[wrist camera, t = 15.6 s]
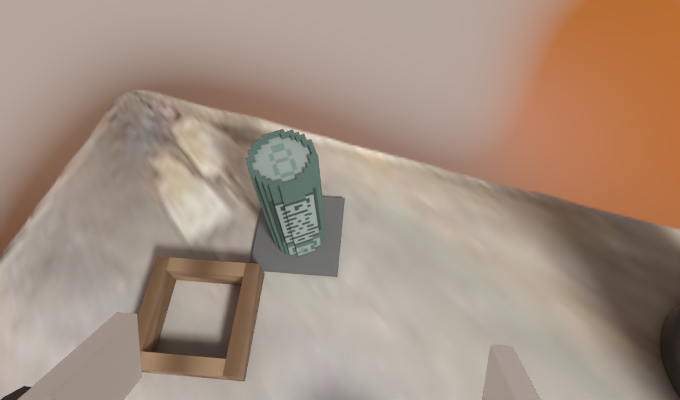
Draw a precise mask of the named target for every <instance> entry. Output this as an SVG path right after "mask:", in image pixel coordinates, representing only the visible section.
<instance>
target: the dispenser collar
mask: <svg viewBox="0 0 680 400" xmlns="http://www.w3.org/2000/svg"><path fill="white" fill-rule="evenodd" d="M263 279H264V272H263V270H262V268H261V266H260V264H254V263H240V262H227V261H213V260H200V259H186V258H173V257H159V256H157V258H156V261H155V264H154V267H153V270H152V273H151V277H150V280H149V283H148V286H147V289H146V292H145V295H144V298H143V301H142V305H141V308H140V311H139V314H138V317H137V320H138V332H139V345H140V357H141V369H142V372H149V373H160V374H171V375H182V376H192V377H203V378H214V379H225V380H236V381H245V377H246V372H247V366H248V361H249V355H250V350H251V344H252V339H253V333H254V328H255V323H256V317H257V312H258V306H259V301H260V295H261V290H262V284H263ZM176 280H185V281H197V282H210V283H223V284H236V285H241V289H240V294H239V299H238V303H237V308H236V313H235V318H234V323H233V327H232V332H231V337H230V342H229V346H228V351H227V356H226V359H221V358H210V357H199V356H188V355H176V354H165V353H155V351H156V348H157V344H158V341H159V337H160V334H161V331H162V327H163V324H164V320H165V317H166V313H167V310H168V306H169V303H170V299H171V296H172V293H173V289H174V286H175V282H176Z"/></svg>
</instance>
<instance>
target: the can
mask: <svg viewBox="0 0 680 400" xmlns="http://www.w3.org/2000/svg"><path fill="white" fill-rule="evenodd" d="M262 138H263V139H259V140H256V141H254V142H255V145H251V147H252V149H250V150H248V153H249V156H250V157H249V158H245V159H246V163H247V166H248V169H249V172H250V176H251V179H252V181H253V184H254V187H255V190H256V192H257V195H258V198H259V201H260V203H261V206H262V209H263V211H264V214H265V217H266V220H267V222H268V225H269V228H270V231H271V233H272V236H273V239H274V242H275V244H276V247H280V248H281V251H282V252H286V255H287V254H290V256H294V255H297V254H298V257H301V256H304V255H307V254H310V253H313V252H315V248H318V247H321V244H320V243H322V242H323V239H324V238H325V232H326V224H325V215H324V206H323V197H322V188H321V179H320V170H319V161H318V155H317V153H316V150H315V148H314V145H313V143H312V140H311V139H310V140H306V138H305V135H304V134H302V135H300V134H299V132H296V133H294V131H293V130H290V131H287V132H284V130H283V129H281V130H278V131H274V132H271V133H268V134H264V135H262Z"/></svg>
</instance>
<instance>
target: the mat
mask: <svg viewBox="0 0 680 400" xmlns="http://www.w3.org/2000/svg"><path fill="white" fill-rule="evenodd" d="M323 206H324V215H325V224H326V232H325V238H324V239H323V242H322V243H320V244H321V247H318V248H315V252H313V253H310V254H307V255H304V256H301V257H298V254H297V255H294V256H290V254H287V255H286V252H282V251H281V248H280V247H276V244H275V242H274V239H273V236H272V233H271V231H270V228H269V225H268V222H267V220H266V217H265V214H264V211H263V209H262V208H261V213H260V218H259V223H258V228H257V232H256V237H255V242H254V247H253V252H252V257H251V262H250V263H254V264H260V266H261V268H262V270H263V271H267V272H280V273H294V274H307V275H320V276H334V277H337V275H338V264H339V253H340V243H341V232H342V221H343V211H344V198H337V197H323Z"/></svg>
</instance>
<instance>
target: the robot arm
mask: <svg viewBox="0 0 680 400" xmlns="http://www.w3.org/2000/svg"><path fill="white" fill-rule="evenodd" d="M661 352H662V357H663V362H664V365H665V368H666V371H667V374H668V376H669V378H670V380H671V382H672V384H673V386H674V388H675V390H676V391H677V393H678V394H679V396H680V304H679V305H677V306H676V307H675V308H674V309H673V310H672V311H671V312H670V313H669V315H668V317H667V318H666V320H665V323H664V325H663V329H662V334H661ZM141 377H142V369H141V357H140V345H139V332H138V320H137V314H132V313H121V312H117V313H116V314H115V315H114V316H113V317H111V318H110V319H109V320H108V321H107V322H106V323H105V324H103V325H102V326H101V327H100V328H99V329H98V330H97V331H95V332H94V333H93V334H92V335H91V336H90V337H89V338H87V339H86V340H85V341H84V342H83V343H82V344H81V345H79V346H78V347H77V348H76V349H75V350H74V351H73V352H71V353H70V354H69V355H68V356H67V357H66V358H65V359H63V360H62V361H61V362H60V363H59V364H58V365H57V366H55V367H54V368H53V369H52V370H51V371H50V372H49V373H47V374H46V375H45V376H44V377H43V378H42V379H41V380H39V381H38V382H37V383H36V384H35V385H34V386H33V387H26V386H23V387H22V388H20V389H18V390H16V391H14V392H12V393H11V394H9V395H7V396H5V397H3V398H2V399H1V400H124V399H125V397H126V396H127V395H128V394H129V392H130V391H131V390H132V389H133V387H134V386H135V385H136V384H137V382H138V381H139V380H140V379H141ZM482 400H541V399H540V397H539V395H538V394H537V392H536V390H535V388H534V386H533V384H532V382H531V380H530V378H529V377H528V375H527V373H526V371H525V369H524V367H523V365H522V363H521V361H520V360H519V358H518V356H517V354H516V352H515V350H514V348H513V346H502V345H491V346H490V352H489V359H488V365H487V371H486V378H485V384H484V390H483V397H482Z"/></svg>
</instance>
